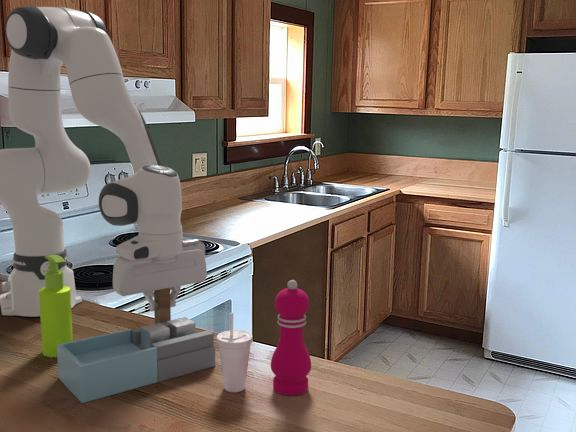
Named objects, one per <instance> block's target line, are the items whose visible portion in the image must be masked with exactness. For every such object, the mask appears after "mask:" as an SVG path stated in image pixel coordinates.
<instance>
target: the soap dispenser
mask: <svg viewBox="0 0 576 432" xmlns="http://www.w3.org/2000/svg"><path fill="white" fill-rule="evenodd" d="M46 259H48V260H49V270H48V271H47V272H45V287H44V288H42V289H40V290H39V302H40V316H39V317H40V333H41V335H40V336H41V352H42V355H43V356H44V357H46V356H47V357H46V358H53V357H54V358H57V344H62V343H67V342H71V341H74V339H73V337H74V336H73V334H74V333H73V315H72V308H71V290H70V287H68V286H64V283H63V271H60V270H59V269H58V264H60V263H65V262H66V261H65V260H64V259H63V258H62V257H61V256H59V255H48V256H46Z"/></svg>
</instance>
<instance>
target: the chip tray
mask: <svg viewBox="0 0 576 432" xmlns="http://www.w3.org/2000/svg"><path fill="white" fill-rule="evenodd" d="M56 359H57V374H58V375H57V376H58V379H59V380H60V382H61V383H62V384H64V386H65V387H66V388H67V389H68V390H69V391H70V393H72V395H73V396H75V398H76V399H77V400H78V401H79V402H80V403H81V404H84V403H89V402H91V401H95V400H99V399H102V398H105V397H109V396H112V395H117V394H120V393H124V392H128V391H131V390H134V389H138V388H142V387H145V386H149V385H153V384H156V383H159V382H158V373H157V348H156V347H152V348H148V349H144V350H141V349H140V348H138V347H137V346H135V345H134V344H133V343H131V329H130V328H128V329H124V330H123V329H122V330H118V331H114V332H113V331H112V332H109V333H105V334H101V335H95V336H90V337H85V338H81V339H77V340H73V341H71V342H67V343H62V344H57V357H56Z"/></svg>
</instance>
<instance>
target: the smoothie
mask: <svg viewBox="0 0 576 432" xmlns="http://www.w3.org/2000/svg"><path fill="white" fill-rule="evenodd" d="M253 343H254V342H253V334H252V333H250V332H248V331H245V330H239V329H238V330H237V329H234V312H233V311H232V312H229V330H225V331H221V332H220V333H218V334H217V335H216V345H218V351H219V359H220V366H221V374H222V381H223V387H224V390H225V391H226V392H228V393H238V392H242V391H245V388H246V381H247V375H248V368H249V367H248V366H249V359H250V352H251V345H252V344H253Z"/></svg>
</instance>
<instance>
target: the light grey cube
mask: <svg viewBox="0 0 576 432" xmlns="http://www.w3.org/2000/svg"><path fill="white" fill-rule="evenodd" d="M140 327H141V347H142V348H144V349H148V348H151V344H153V343H157V342H161V341H165V340H170V329H169V328H168V327H166V326H165V325H163V324H161V323H156V324H155V323H153V324H152V325H151V324H148V325H144V326H140Z"/></svg>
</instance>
